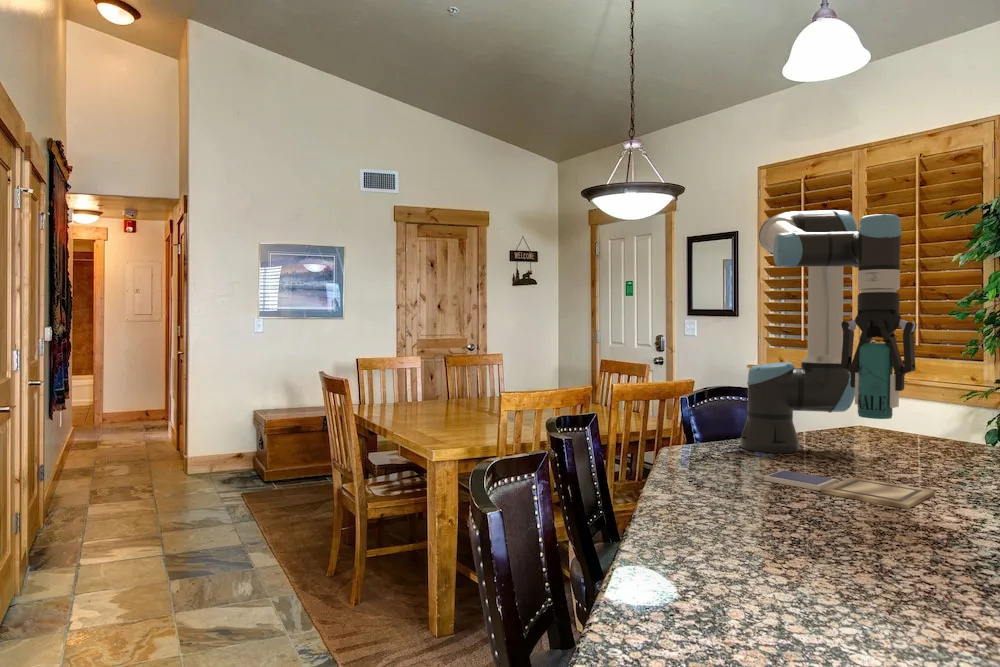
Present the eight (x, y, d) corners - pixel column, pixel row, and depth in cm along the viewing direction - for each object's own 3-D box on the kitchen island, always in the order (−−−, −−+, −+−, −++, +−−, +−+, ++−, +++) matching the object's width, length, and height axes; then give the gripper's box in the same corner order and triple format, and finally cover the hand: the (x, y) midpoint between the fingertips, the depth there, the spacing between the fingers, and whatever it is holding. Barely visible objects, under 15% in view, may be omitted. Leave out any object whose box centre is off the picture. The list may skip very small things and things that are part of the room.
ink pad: (763, 480, 154) (764, 475, 154) (782, 474, 160) (782, 469, 160) (819, 490, 145) (819, 485, 145) (836, 483, 151) (837, 478, 151)
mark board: (821, 492, 143) (821, 488, 143) (851, 480, 154) (851, 476, 154) (908, 509, 131) (908, 504, 131) (934, 494, 142) (934, 490, 142)
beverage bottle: (884, 422, 146) (886, 326, 145) (899, 427, 139) (901, 326, 138) (851, 421, 146) (853, 325, 146) (864, 426, 140) (866, 326, 139)
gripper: (823, 292, 146) (821, 402, 147) (924, 289, 132) (922, 411, 133) (838, 293, 151) (836, 399, 152) (937, 291, 137) (935, 408, 138)
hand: (876, 405), depth 142 cm, fingers closed on beverage bottle, 6 cm apart
